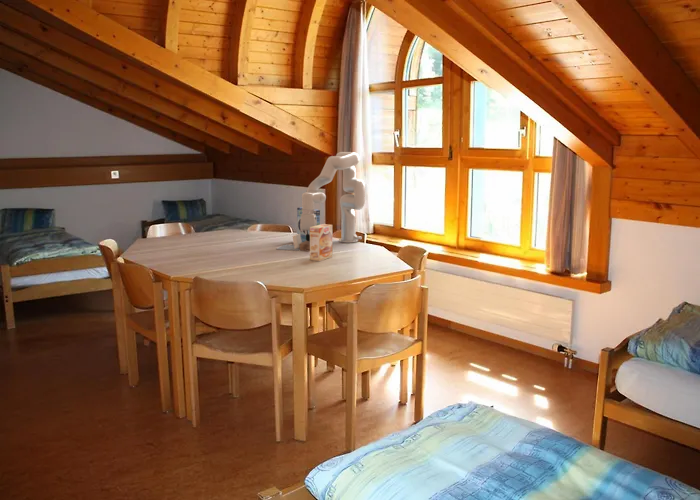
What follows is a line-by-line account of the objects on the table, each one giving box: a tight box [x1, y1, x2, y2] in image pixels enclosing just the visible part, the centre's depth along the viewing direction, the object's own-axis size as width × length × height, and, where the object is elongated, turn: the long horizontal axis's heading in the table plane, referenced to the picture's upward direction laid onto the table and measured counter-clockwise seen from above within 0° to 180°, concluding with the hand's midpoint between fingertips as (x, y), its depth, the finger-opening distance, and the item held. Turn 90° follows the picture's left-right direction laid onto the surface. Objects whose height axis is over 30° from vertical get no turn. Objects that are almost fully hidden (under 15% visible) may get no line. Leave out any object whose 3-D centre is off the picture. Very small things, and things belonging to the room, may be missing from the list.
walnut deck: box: [299, 240, 310, 252], centre depth 430 cm, size 9×14×4 cm, turn 165°
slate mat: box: [276, 244, 301, 251], centre depth 433 cm, size 15×16×1 cm
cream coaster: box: [292, 234, 303, 249], centre depth 432 cm, size 8×8×2 cm
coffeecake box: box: [309, 223, 333, 262], centre depth 397 cm, size 15×7×20 cm, turn 151°
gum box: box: [296, 206, 321, 243], centre depth 449 cm, size 20×5×23 cm, turn 39°
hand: (308, 240), depth 429 cm, fingers closed
